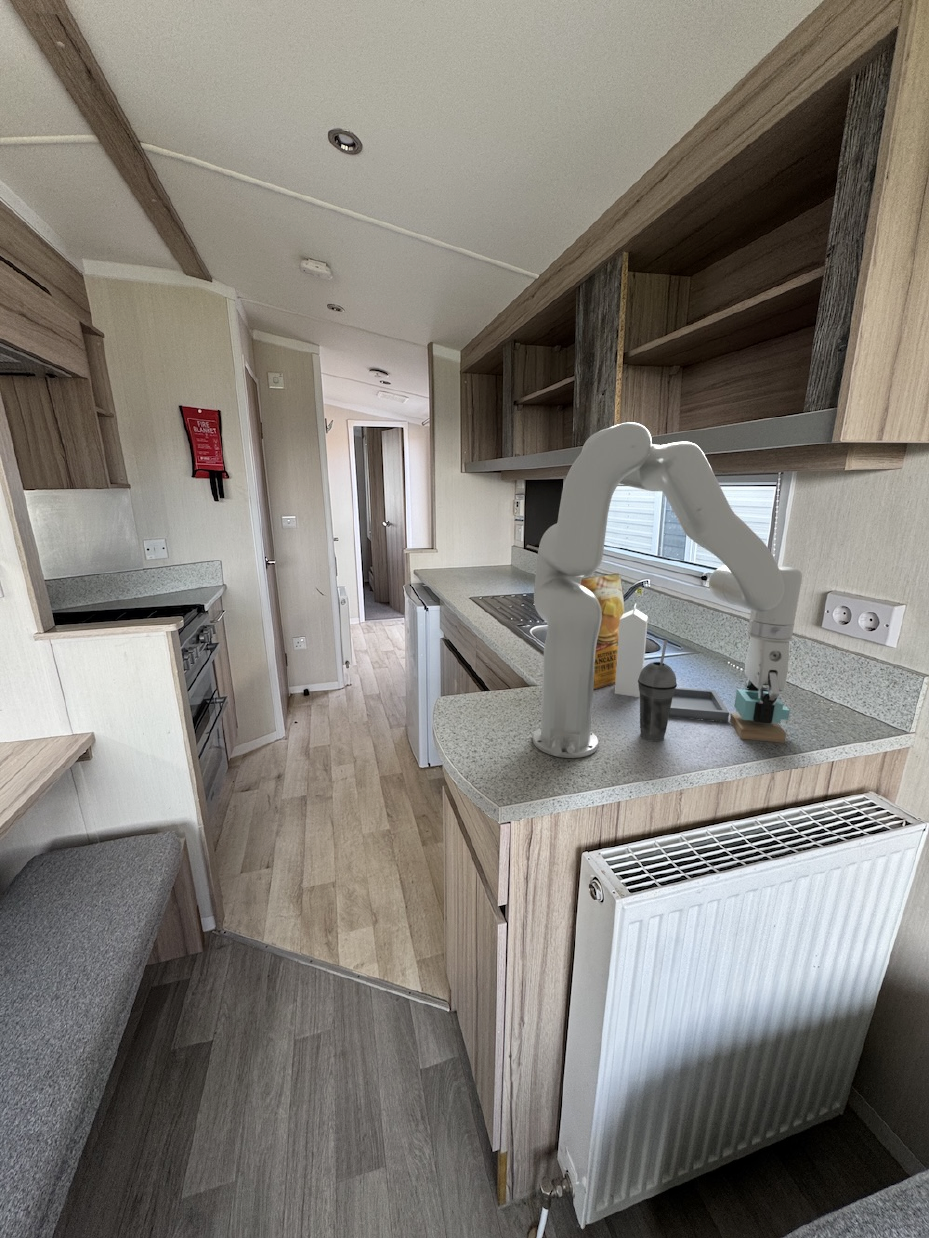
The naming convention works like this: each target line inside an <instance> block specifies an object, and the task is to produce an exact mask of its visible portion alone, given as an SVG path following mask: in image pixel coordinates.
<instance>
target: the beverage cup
mask: <svg viewBox="0 0 929 1238" xmlns="http://www.w3.org/2000/svg"><path fill="white" fill-rule="evenodd" d="M667 644H668V640H663V646H662V651H661V657H660V661H654V662H650V663H647V664H646V665H644V668H643V669H642V671H641V673H640V676H639V679H638V683H639V684H638V686H639V691H640V697H639V729H640V731H639V732H640V737H641V738H642V739H644V740H646V741H648V742H650V741H651V742H662V741H664V739H665V735H666V732H667V727H668V723H669V718H670V717H669V713H670V708H671V703H672V698H673V696H674V693H675V688H678V687H677V686H678V684H677V683H678V682H677V676H676V674H675V672H674V670H673V668H671V666H669V665H668V664H667V663H664V659H665V655H666V654H665V653H666V648H667Z"/></svg>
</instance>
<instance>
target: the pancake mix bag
mask: <svg viewBox="0 0 929 1238" xmlns="http://www.w3.org/2000/svg"><path fill="white" fill-rule="evenodd" d="M581 585H582V586H584V587H586V588H587V589H589V590H590V591H591V592H592V593H593V594H594V595H595V596H596V598H597V599H598V601H599V603H600V606H601V611H602V620H601V626H600V630H599V635H598V639H597V645H596V653H595V666H594V686H593V690H597V689H601V688H604V687H607V686H610V685H612V684H615V680H616V666H617V652H618V638H619V624H620V618H621V617H622V615H623V614H625V613H626V611H625V599H624V598H625V597H624V592H623V584H622V576H620V573H611V574H607V575H594V576H587V577H582V579H581Z"/></svg>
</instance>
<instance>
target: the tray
mask: <svg viewBox="0 0 929 1238" xmlns="http://www.w3.org/2000/svg"><path fill="white" fill-rule="evenodd" d="M729 715H730V711H729V710H728V709H727V707H726V706H725V704H724V703H723V700H722V699H721V697H720V696H719V694H718V693H717V691H716V690H711V689H702V688H701V689H699V688H686V687H676V688H675V693H674V696H673V698H672V703H671V708H670V713H669V718H677V719H678V718H679V719H687V720H697V719H700V720H699V721H708V720H714V721H713V722H719V721H722V722H721V723H729V719H730V718H729ZM701 719H703V720H701Z"/></svg>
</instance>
